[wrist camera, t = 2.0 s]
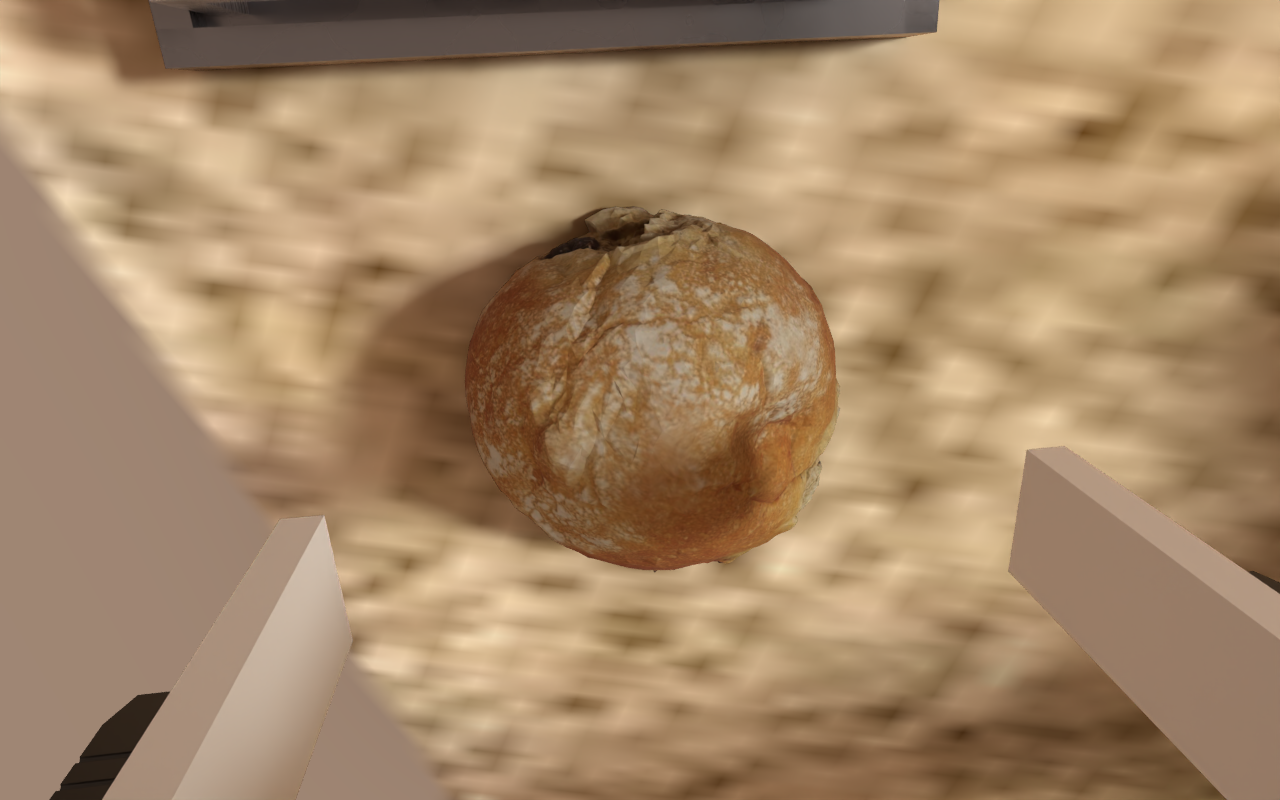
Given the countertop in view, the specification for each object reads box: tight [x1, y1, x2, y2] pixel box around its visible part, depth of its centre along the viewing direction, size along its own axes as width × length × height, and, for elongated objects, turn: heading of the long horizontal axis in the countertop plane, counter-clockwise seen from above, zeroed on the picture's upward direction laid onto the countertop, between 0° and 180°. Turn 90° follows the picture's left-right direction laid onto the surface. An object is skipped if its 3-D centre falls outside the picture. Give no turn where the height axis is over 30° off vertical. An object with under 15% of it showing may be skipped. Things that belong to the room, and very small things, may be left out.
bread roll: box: [465, 206, 840, 572], centre depth 21 cm, size 10×10×8 cm
